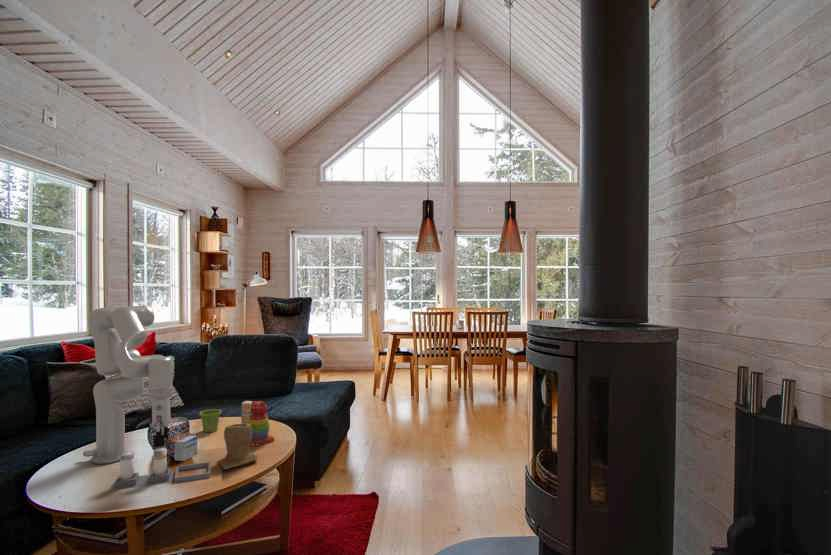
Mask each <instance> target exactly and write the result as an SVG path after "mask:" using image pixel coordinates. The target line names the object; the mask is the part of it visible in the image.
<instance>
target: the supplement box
mask: <svg viewBox="0 0 831 555" xmlns="http://www.w3.org/2000/svg"><path fill="white" fill-rule="evenodd" d="M253 401H255V400H252V401H251V400H245V401H243V402H241V420H240V421H241V423H240V424H248V420H249V418H250V416H251V415H252V413H251V406H252V402H253ZM255 402H257V401H255Z"/></svg>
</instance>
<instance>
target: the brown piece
mask: <svg viewBox="0 0 831 555" xmlns="http://www.w3.org/2000/svg"><path fill="white" fill-rule="evenodd" d="M223 431H224V432H223V438H224V442H225V447H226V452H227V453H226V455H225V456H224V457H223V458H221V459H219V460H217V464H219V465H220V467H221V470H222V471H225V470H229V469H233V468H236V467H237V468H238V467H240V466H243V465H247V464H248V463H251V462H255V461H256V460H258V459H259V457H258V456H257V455H256V454H254V453H251V451H250V447H251V445H250V443H251V440H252V427H251V425H250V424H241V423H236V424H229V425H226V426H225V428H224V430H223Z"/></svg>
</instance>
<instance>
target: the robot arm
mask: <svg viewBox="0 0 831 555" xmlns="http://www.w3.org/2000/svg"><path fill="white" fill-rule="evenodd" d="M87 322H88V329H89V332H90V334H91V337H92V340H93V343H94V357H95V366H96V367H95V368H96V371H97V373H98V375H100V376H112V375H119V374H122V375H123V376H118V377H112V378H106V379H103V380H100V381H98V382H97V383H96V384H95V385H94V386H93V390H92V391H93V392H92V393H93V399H94V403H95V404H94V405H95V416H96V417H95V418H96V419H95V422H96V424H95V426H96V427H95V429H96V430H95V431H96V432H95V433H96V434H95V438H96V439H95V440H96V441H95V442H96V444H95V448H93V449H89V450H87V449H86V450H83V452H82V456H84V457H85V458H87V457H91V463H92V464H96V465H105V464H106V465H107V464H113V463H117V462H120V454H122V453H124V452H129V450H127V449H125V446H126V445H125V441H126V440H125V439H126V437H125V435H126V431H125V429H126V428H125V425H126V424H125V422H126V420H125V419H126V416H125V414H126V413H125V409H124V408H123V407H122V406H120V404H119V402H122V401H123V402H124V401H128V400H133V399H137V398H140V397H141V396H142V395H143V394H144V391H145V380H144V378H147V385H148V386H147V388H148V389H147V394H148V395H147V396H148V397H147V398H148V400H151V419H152V420H151V421H152V422H151V423H152V429H154V430H153V433H154V434H153V447H154V448H158V447H159V448H162V447H164V446H165V444H166V441H165V439H168V436H169V434H168V433H169V430H168V429H169V426H170V424H171V422H172V421H171V420H172V417H171V398H172V397H173V395H174V394H173V393H174V392H173V390H174V389H173V386H174V385H173V359H172V358H171V357H168V356H164V355H163V354H151V355H143V356H142V355H141V353H140V351H138V350H137V349H136V348H137V347H140V346H141V345H142V344H144V343H145V342H146V340H147V338H148V335H149V334H148V332H147V330H146V329H145V328H146V327H150V326H152V325H153V324H154V323H155V313H154V311H153V309H152V308H151V307H150V306H147V305H130V306H129V305H128V306H112V307H111V306H109V307H100V308H96V309H93V310H92V311H91V312H89V314H88V320H87ZM112 329H115V331H116V332H117V333H115V332H114V330H112ZM120 340H121V342H120Z"/></svg>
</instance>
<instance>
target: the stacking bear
mask: <svg viewBox="0 0 831 555" xmlns="http://www.w3.org/2000/svg"><path fill="white" fill-rule="evenodd" d="M252 401H253V402H252V406H251V413H252V415H251V416H250V418H249V420H248V424H250V425H251V427H252V440H251V443H250V444H254V445H253V446H257V445H256V444H263V445H265V444H264V443H267V444H269V443H268V442H270V443H272V442H274V441H275V436H272V435H269V431H270V420H269V417H268V415H267V410H268V405H267V404H266V402H264V401H263V400H262V401H261V400H258V401H256V402H255V400H252ZM271 441H272V442H271Z"/></svg>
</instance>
